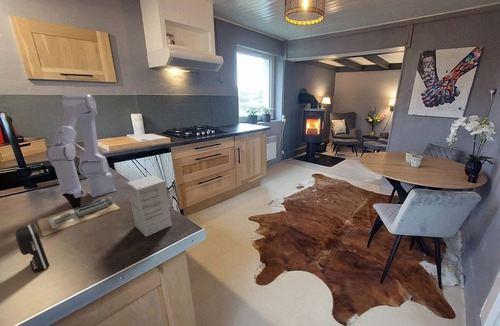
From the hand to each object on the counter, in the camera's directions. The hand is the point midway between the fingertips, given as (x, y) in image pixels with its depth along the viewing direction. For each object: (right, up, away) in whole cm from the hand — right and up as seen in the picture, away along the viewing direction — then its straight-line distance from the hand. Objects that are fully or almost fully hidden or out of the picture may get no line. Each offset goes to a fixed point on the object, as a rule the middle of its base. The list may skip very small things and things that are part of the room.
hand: (77, 209), depth 84 cm
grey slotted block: (+6, 0, +2) cm, 6 cm away
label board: (+2, -2, -1) cm, 3 cm away
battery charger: (+10, -10, -26) cm, 30 cm away
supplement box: (+34, -4, -9) cm, 35 cm away
